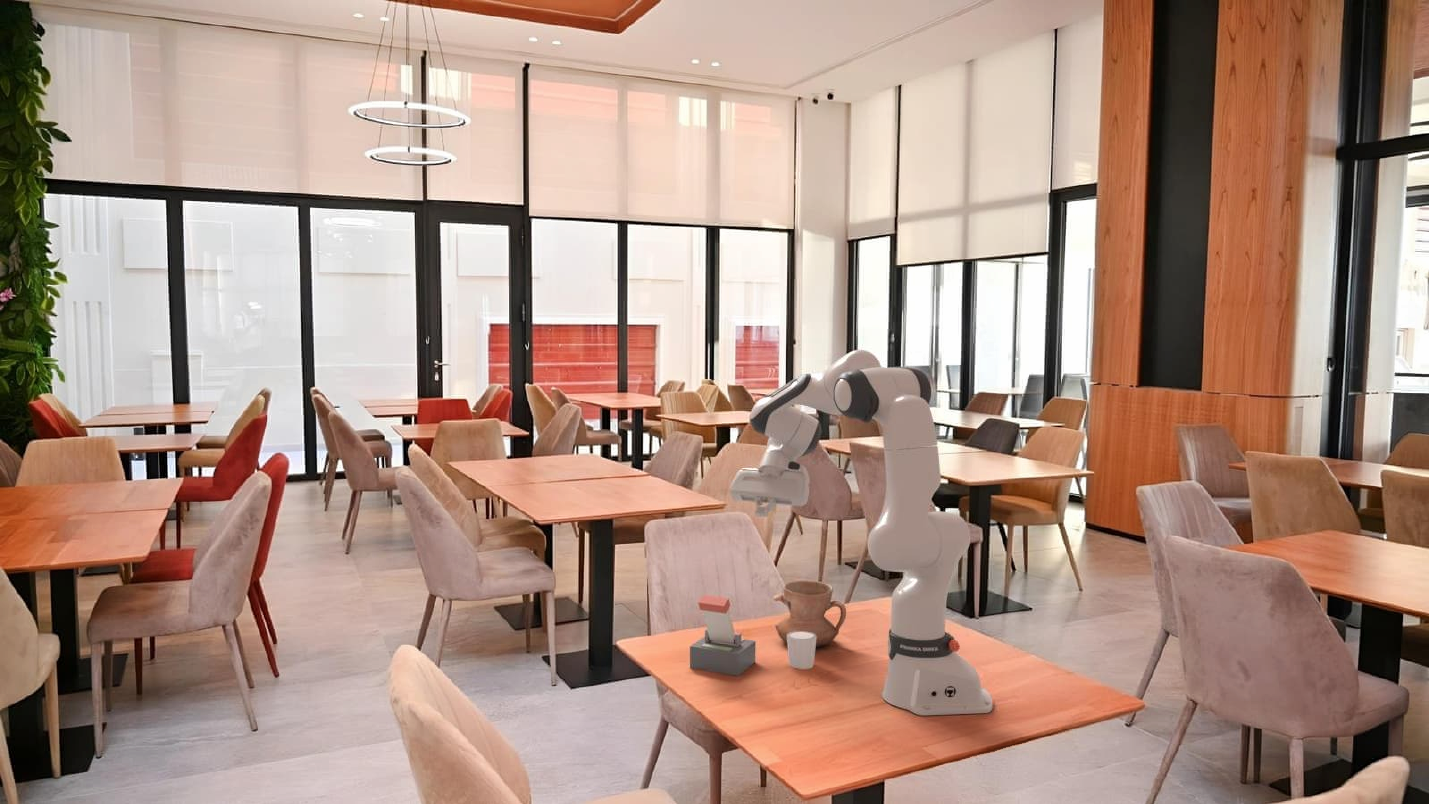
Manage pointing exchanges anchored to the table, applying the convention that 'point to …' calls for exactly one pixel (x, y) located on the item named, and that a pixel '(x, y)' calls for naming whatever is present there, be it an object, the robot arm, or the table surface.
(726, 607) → the lever
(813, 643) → the shot glass
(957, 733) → the table surface
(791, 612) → the ceramic jug
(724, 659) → the switch box
